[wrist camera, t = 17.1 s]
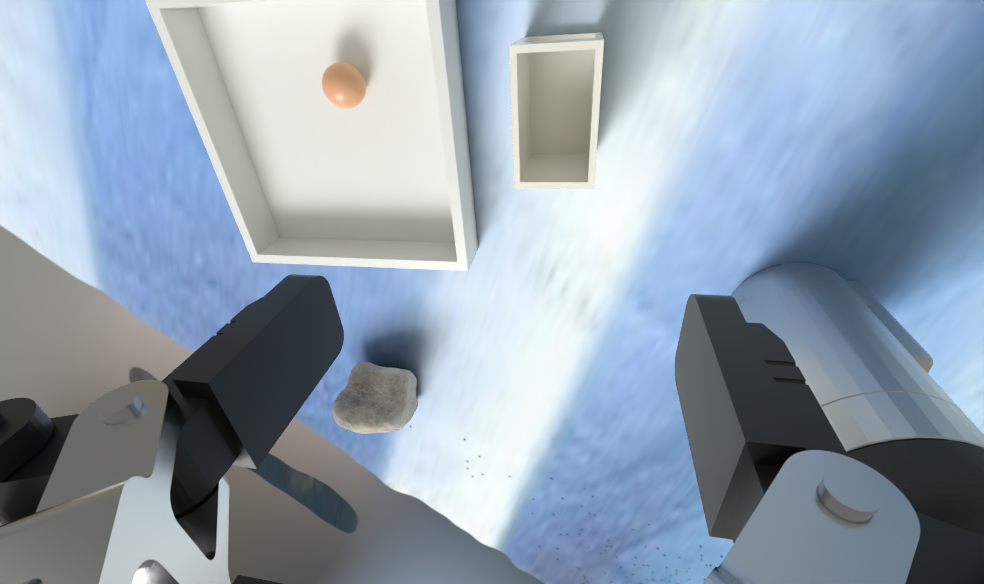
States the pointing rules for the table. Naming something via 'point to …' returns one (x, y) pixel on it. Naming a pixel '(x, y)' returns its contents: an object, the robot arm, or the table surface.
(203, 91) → the tray
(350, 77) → the ball
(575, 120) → the open box
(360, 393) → the stone
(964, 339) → the table surface
